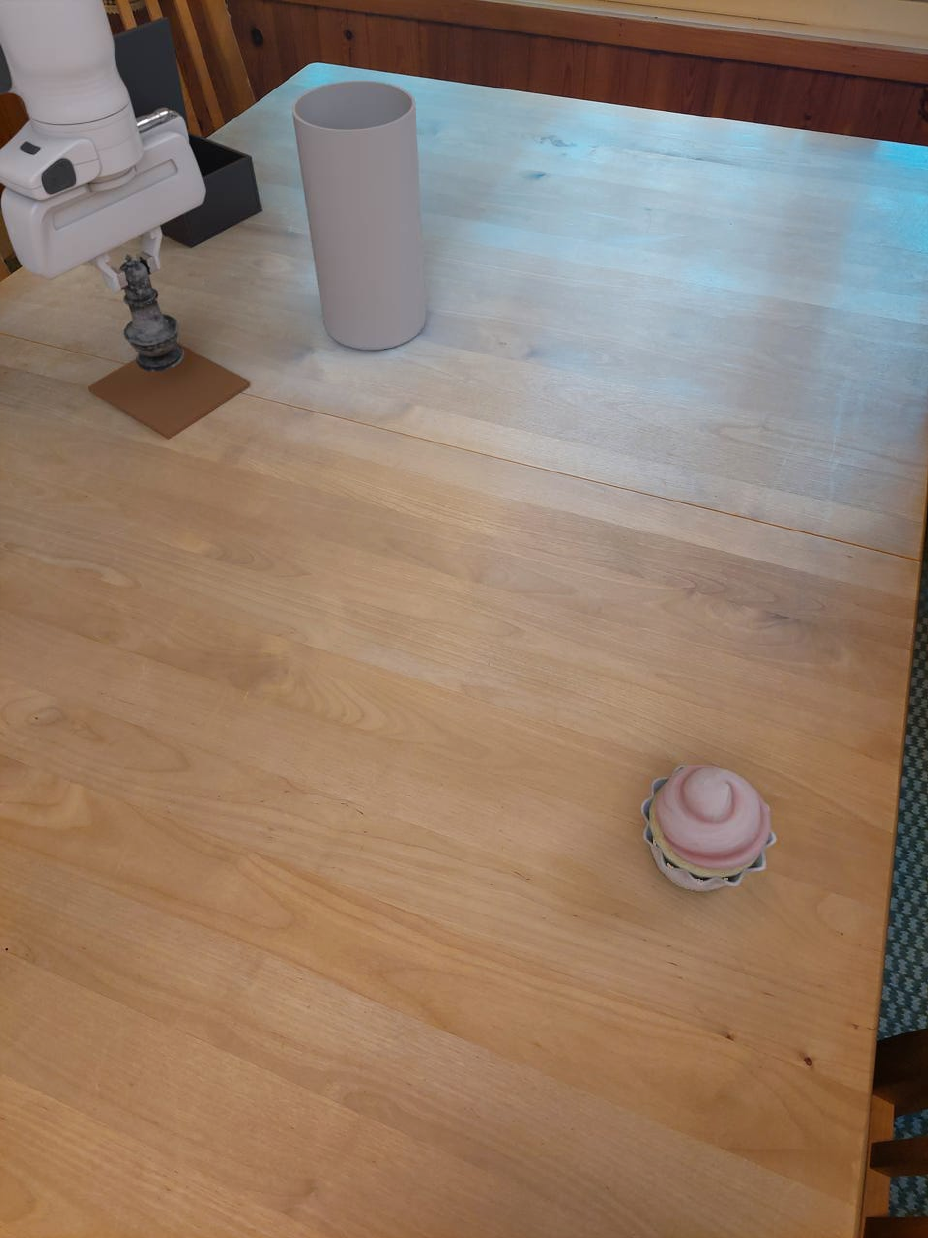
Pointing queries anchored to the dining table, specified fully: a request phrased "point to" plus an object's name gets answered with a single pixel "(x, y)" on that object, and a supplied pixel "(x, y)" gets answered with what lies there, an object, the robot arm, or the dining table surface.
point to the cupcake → (707, 827)
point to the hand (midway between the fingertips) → (134, 279)
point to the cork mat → (170, 392)
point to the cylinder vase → (363, 210)
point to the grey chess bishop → (149, 322)
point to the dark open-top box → (217, 193)
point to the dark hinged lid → (150, 68)
